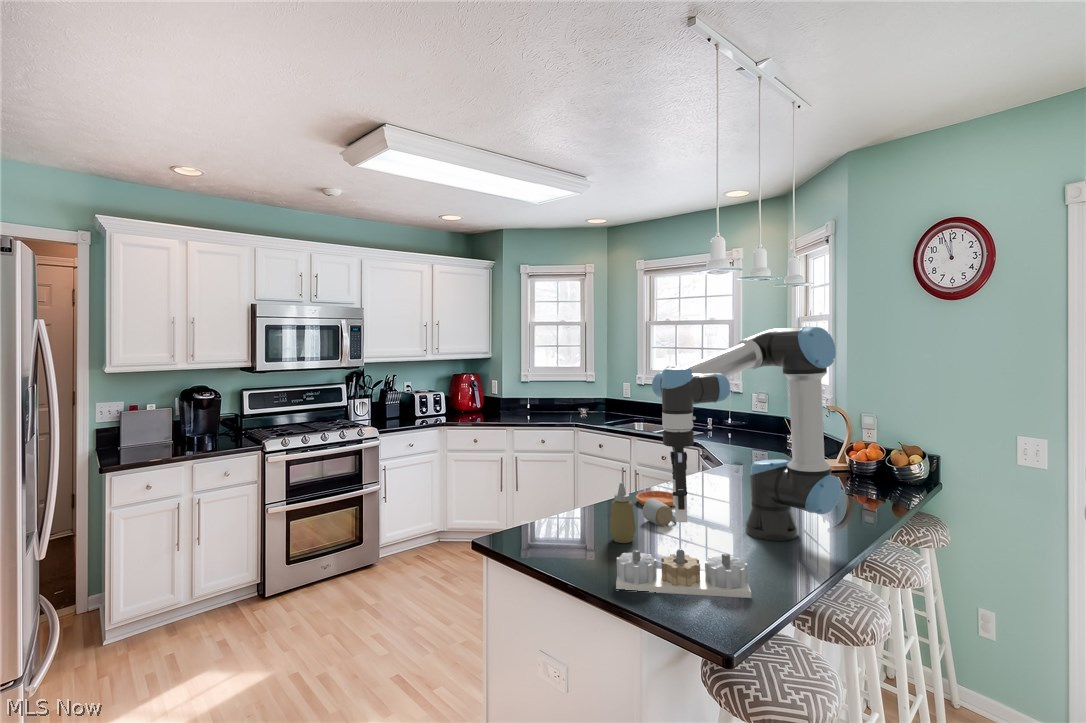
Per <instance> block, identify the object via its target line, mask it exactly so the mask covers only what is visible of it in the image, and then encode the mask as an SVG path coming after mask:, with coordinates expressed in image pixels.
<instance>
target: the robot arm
mask: <svg viewBox="0 0 1086 723" xmlns="http://www.w3.org/2000/svg"><path fill="white" fill-rule="evenodd" d="M836 354H837V352H836V345H835V342H834V339H833V336H832V335H831V334H830V333H829V331H827V330H826V329H825V328H822V327H819V326H809V325H808V326H807V325H806V326H799V327H776V328H772V329H771V328H770V329H767V330H764V331H762V332H759V333H756V334H754V335H751V336H749V337H747V338H743V339H742V340H740V341H739V342H738V343H737V345H736V346H733V347H731V348H728V349H726V350H723V351H721V352H719V353H716V354H714V355H711V356H708V357H706V358H703V359H701V360H698V361H696V362H693V363H690V364H689V365H685V366H684V367H667V368H664V369H663V370H662V371H661V372H658V373H657V374H655V375H654V377H653V378H652V382H651V388H652V392H653V393H654V394H655V396H657V397H658V398H661V405H662V406H661V408H662V410H661V411H662V413H661V414H662V416H661V418H662V419H661V420H662V428H663V429H664V430H662V444H663V445H664V446H665V447H671V448H672V451H670V453H669V454H670V455H669V456H670V461H671V462H670V463H671V465H672V473H671V474H672V479H673V480H672V493H673V506H672V507H674V508H675V509H674V510H675V513H674V514H675V516H674V517H676V522H675V523H688V496H687V495H688V491H687V490H688V488H687V469H688V466H687V465H688V464H687V461H688V453H687V451H684V450H685V449H684V448H689V447H692V446H693V445H694V443H695V440H694V437H695V436H694V434H695V433H694V430H692V429H693V428H694V421H695V420H697V418H696V416H695V415H693V414H694V405H699V404H709V403H711V404H712V403H713V404H714V403H715V404H716V403H718V402H722V401H723V402H724V401H725V400H726V399H727V398H728V397H729V395H730V392H731V384H730V380H729V379H728V378H729V377H731V376H734V375H736V374H738V373H740V372H743V371H745V370H756V369H758V368H762V367H780V368H781V367H782V374H783V376H784V377H785V378H787V380H788V385H789V386H788V388H789V389H788V390H789V412H790V413H789V414H790V432H791V433H790V435H791V436H790V437H791V438H790V440H791V460H788V459H780V458H779V459H778V458H777V459H775V458H774V459H762V460H757V461H754V462H752V463H751V465H750V466H751V467H750V475H749V476H750V502H751V503H750V507H751V508H750V509H749V514H748V516H747V520H746V521H745V522H746V523H745V532H746V533H747V534H748V535H750V536H752V537H754V538H756V539H761V540H765V541H773V542H783V541H784V542H785V541H790V540H795V539H796V538H797V537H798V526H797V524H796V522H795V519H794V514H793V512H792V508H796V509H798V510H802V511H805V512H807V513H809V514H810V513H811V514H817V515H826V514H829V513H830V512H832V511H833V510H834V508H835V507H836V506H837V505H838V502H839V501H840V497H841V494H842V484H841V481H840V480H839V478H838V477H837V476H835V475H833V474H832V469H831V468H832V466H831V465H830V464H829V463H828V462H827V461H826V459H825V441H824V436H825V435H824V413H823V410H824V409H823V393H822V392H823V391H822V390H823V388H822V385H823V384H822V378H823V377H824V376H826V375H827V373H828V369H827V368H829V367H830V366H832V364H833V363H835V362H834V361H835V360H834V359H835V358H836Z"/></svg>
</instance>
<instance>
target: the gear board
mask: <svg viewBox="0 0 1086 723" xmlns="http://www.w3.org/2000/svg"><path fill="white" fill-rule="evenodd" d="M675 552H676V553H675V555H676V560H677V564H685V555H686V554H685V551H684V550H683V549H682V548H679V549H677V550H676V551H675ZM748 575H749V573H748V563H747V562H744V561H743V560H741V558H739V557H733V556H732V557H731V555H730V554H729V553H722V554H720V555H719V556H709V557H707V560H705V561H704V570H700V583H699V584H698V583H694V584H692V586H690V587H687V586H683V585H677V586H673V585H672V584H671V583H669V582H667V581H666V582H664V581H663V580H662V568H657V558H654V557H653V555H652V554H650V553H644V552H641V550H639V549H633V550H632V552H623V553H621V555H620V556H617V557H616V581H615V590H616V589H625V590H638V591H649V592H648V593H654V592H656V594H657V593H658V594H673V595H675V594H676V595H691V596H692V595H693V596H694V595H695V596H696V595H697V596H707V597H710V596H711V597H724V598H725V597H727V598H741V599H742V598H743V599H744V598H746V599H752V590H751V588H750V586H749V581H748V578H749V576H748Z"/></svg>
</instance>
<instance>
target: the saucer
mask: <svg viewBox="0 0 1086 723" xmlns="http://www.w3.org/2000/svg"><path fill="white" fill-rule="evenodd" d="M649 499H657V500H658V501H660V502H662V503H664V504H666V505H667V506H668V507H670V508H672V507H674V506H673V492H670V491H664V490H647V491H646V490H645V491H642V492H639V493H637V494H636V495H635V500H636V501H637V502H638V503H639V504H640V505H641V506H643V505H644V504H645V503H646V501H648V500H649ZM671 506H672V507H671Z"/></svg>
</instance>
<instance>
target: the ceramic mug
mask: <svg viewBox="0 0 1086 723" xmlns="http://www.w3.org/2000/svg"><path fill="white" fill-rule="evenodd" d="M642 515H643V517H644V519H645V520H646V521H648V522H651V523H652V524H655V525H657V526H659V527H665V526H668V525H669V524H670V523H671V522H673V523H677V522H676V516H674V514H673V510H672V507H668V506H667V505H666V504H664V503H662V502H660V501H658V500H657V499H649V500H648V501H646V503H645V504H644V506H643V505H642Z"/></svg>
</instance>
